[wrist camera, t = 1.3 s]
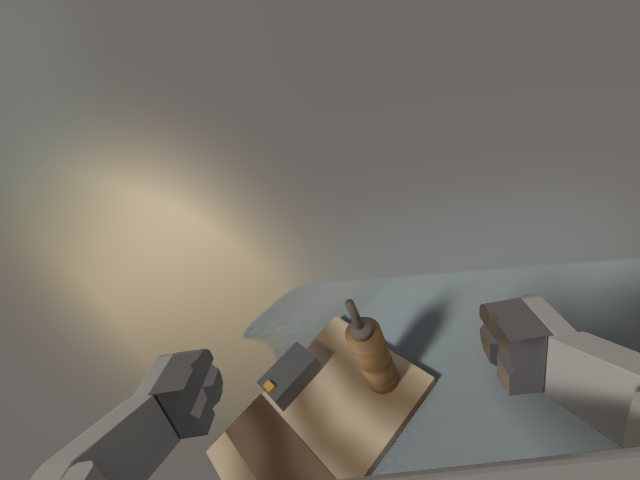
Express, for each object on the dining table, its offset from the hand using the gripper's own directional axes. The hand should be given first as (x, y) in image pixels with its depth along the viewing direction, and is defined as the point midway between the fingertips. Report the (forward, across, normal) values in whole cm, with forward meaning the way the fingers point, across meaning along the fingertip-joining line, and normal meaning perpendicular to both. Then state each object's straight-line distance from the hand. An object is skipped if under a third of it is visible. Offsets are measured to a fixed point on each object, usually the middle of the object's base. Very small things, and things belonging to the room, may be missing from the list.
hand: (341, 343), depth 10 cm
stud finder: (+20, +9, +21) cm, 30 cm away
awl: (+17, -1, +21) cm, 27 cm away
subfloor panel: (+15, +6, +23) cm, 29 cm away
